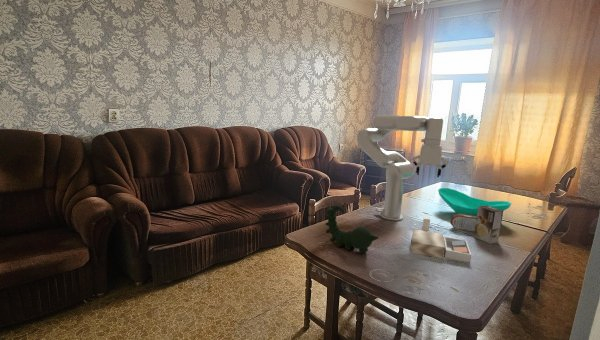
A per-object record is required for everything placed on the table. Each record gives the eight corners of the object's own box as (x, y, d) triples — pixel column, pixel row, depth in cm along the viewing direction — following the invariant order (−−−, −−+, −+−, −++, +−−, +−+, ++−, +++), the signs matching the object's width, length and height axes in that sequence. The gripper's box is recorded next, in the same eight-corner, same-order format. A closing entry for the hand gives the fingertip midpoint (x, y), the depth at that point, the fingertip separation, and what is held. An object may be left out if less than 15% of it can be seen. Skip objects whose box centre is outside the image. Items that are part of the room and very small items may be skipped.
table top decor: (426, 211, 193) (428, 191, 191) (446, 204, 211) (449, 185, 208) (497, 232, 164) (502, 208, 161) (514, 222, 181) (518, 200, 179)
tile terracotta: (467, 251, 129) (468, 257, 129) (466, 247, 134) (466, 252, 134) (454, 251, 131) (455, 257, 131) (453, 247, 136) (453, 252, 136)
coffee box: (498, 242, 151) (504, 210, 148) (489, 244, 149) (495, 211, 146) (481, 235, 160) (486, 205, 156) (472, 236, 157) (477, 206, 154)
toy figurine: (321, 246, 140) (372, 261, 124) (321, 205, 138) (373, 215, 122) (333, 240, 148) (383, 253, 132) (333, 201, 145) (383, 210, 129)
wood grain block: (410, 252, 136) (412, 241, 135) (411, 238, 150) (413, 229, 149) (443, 258, 131) (445, 247, 130) (441, 244, 146) (442, 234, 145)
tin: (480, 231, 164) (483, 216, 163) (481, 233, 161) (484, 218, 160) (449, 227, 169) (451, 212, 167) (449, 229, 166) (452, 213, 164)
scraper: (421, 239, 151) (423, 222, 149) (421, 228, 165) (423, 213, 164) (428, 240, 150) (430, 223, 148) (427, 229, 164) (429, 214, 163)
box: (444, 258, 131) (445, 250, 130) (442, 244, 146) (443, 236, 145) (470, 263, 128) (471, 254, 127) (465, 248, 142) (466, 240, 142)
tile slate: (465, 244, 136) (466, 250, 136) (463, 240, 140) (464, 245, 140) (452, 245, 138) (453, 250, 138) (451, 241, 142) (452, 246, 142)
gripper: (413, 141, 156) (409, 174, 159) (451, 144, 150) (446, 179, 153) (414, 140, 163) (410, 172, 166) (450, 143, 157) (445, 176, 160)
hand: (427, 175), depth 160 cm, fingers open, 9 cm apart
